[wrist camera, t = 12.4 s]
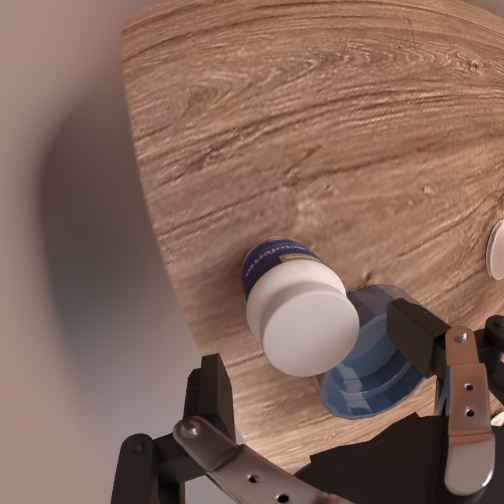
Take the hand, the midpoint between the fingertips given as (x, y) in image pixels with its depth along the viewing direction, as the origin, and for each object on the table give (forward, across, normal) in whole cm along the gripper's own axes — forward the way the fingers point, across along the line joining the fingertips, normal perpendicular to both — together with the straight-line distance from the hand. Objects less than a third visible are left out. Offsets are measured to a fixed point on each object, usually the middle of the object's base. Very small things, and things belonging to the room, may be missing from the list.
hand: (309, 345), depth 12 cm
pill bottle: (+10, 0, 0) cm, 10 cm away
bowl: (+10, -7, +9) cm, 16 cm away
